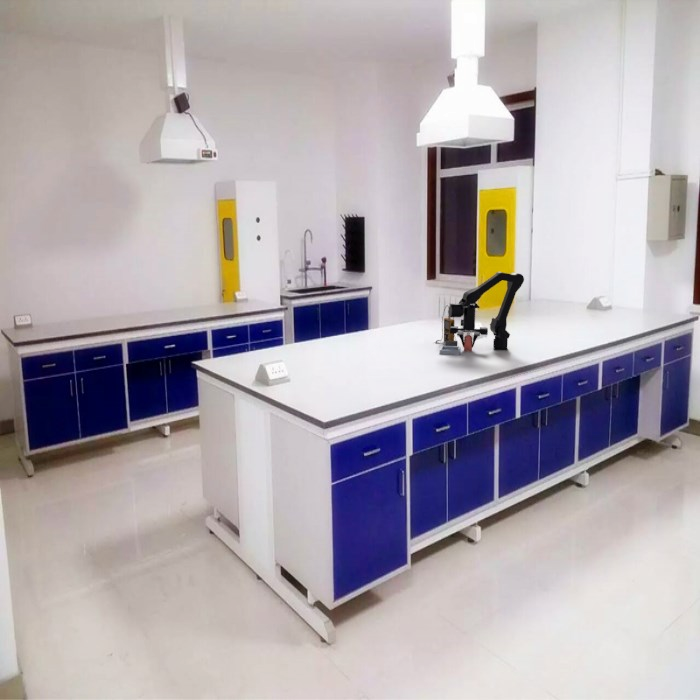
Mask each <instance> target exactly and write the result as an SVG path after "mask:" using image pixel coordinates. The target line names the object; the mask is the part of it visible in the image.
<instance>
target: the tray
mask: <svg viewBox="0 0 700 700" xmlns="http://www.w3.org/2000/svg"><path fill="white" fill-rule="evenodd" d="M461 348H462V346H461V345H459V346H458V345H457V346H445V345H440V349H439V355H457V356H459V355H461V351H462V349H461Z"/></svg>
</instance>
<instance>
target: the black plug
mask: <svg viewBox="0 0 700 700" xmlns="http://www.w3.org/2000/svg"><path fill="white" fill-rule="evenodd" d="M442 343H443V344H442V346H458V340H454V341H446V342H442Z"/></svg>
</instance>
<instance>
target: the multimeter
mask: <svg viewBox="0 0 700 700" xmlns="http://www.w3.org/2000/svg"><path fill="white" fill-rule="evenodd" d="M447 307H448V308H449V307H450V305H448V304H447V305H446V306H444V309H443V313H442V316H444V313H445V310H446V308H447ZM441 318H442V321H441V322H443V326H441V332H442V336H441V339H443V342H441V339H438V340H436V341H435V344H442V345H443V343H446V341H455V340H457V338H456V334H450V327H451V326H455V317H449V315H448V316H447V317H441Z"/></svg>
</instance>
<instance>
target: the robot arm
mask: <svg viewBox="0 0 700 700" xmlns="http://www.w3.org/2000/svg"><path fill="white" fill-rule="evenodd" d="M502 281H505V282H506V292H505V294H504V297H503V300H502V303H501V305H500V308H499V310H498V313H497V316H495V318H494V317H492V318H491V322H490V324H489V329H490V331H491V333H492V334H493V337H494V338H493V349H494V351H495V350H496V351H497V350H498V351H499V350H500V351H504V350H505V351H507V350H509V349H508V339H509V338H510V336H511V334H510V333H509V332H508V331H507V322H508V321H507V318H508V315H509V313H510V310H511V306H512V305H513V302H514V299H515V297H516V294H517V292H518V291H519V290H520V288H521V287H522V285H524V284H523V283H524V282H525V277H524V275H523V274H522V273H518V272H512V273H507V272H502V271H497V272H495V274H494V275H492V276H490V278H488V279H487V280H485V281H484V282H482V283H480V285H478V286H477V287H474V288H471V289H469V290H468V291H467V290H466V291H465V292H464V293H463V295H462V298H461V299H460V301H459V302H458V303H449V307H448V310H447V315H448V316H449V317H450V318H453V317H454V318H462V317H463V319H460V327H459V326H455V325H454V326H451V327H450V334H454V335H457V337H459V338H460V341H461V344H462V347H463V348H464V338H465V336H464V333H473V336H472V349H473V348H474V345H475V344H476V343H475V342H476V341H477V338H478V337H481V336H488V333H489V331H488V330H489V329H488V327H486V326H485V327H484V326H481V327H479V328H475V327H476V309H480V306H479V305H478V303H477V302H478V301H479V300H480V298H481V297H482V296H483V295H484V294H485V293H486V292H487V291H489V290H490V289H492V288H494V287H495V286H496V285H497V284H499V283H501V282H502ZM461 327H462V328H461Z"/></svg>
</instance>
